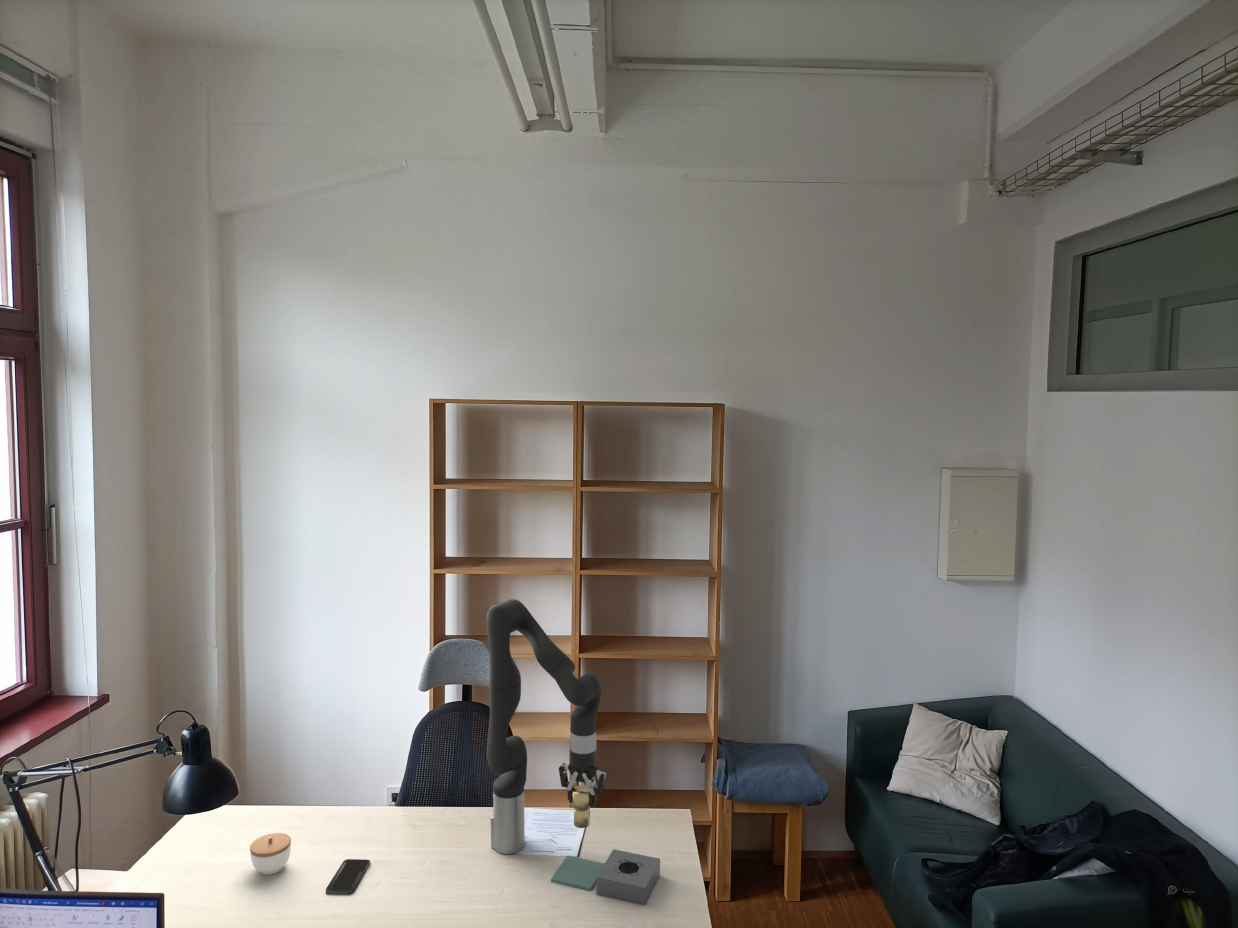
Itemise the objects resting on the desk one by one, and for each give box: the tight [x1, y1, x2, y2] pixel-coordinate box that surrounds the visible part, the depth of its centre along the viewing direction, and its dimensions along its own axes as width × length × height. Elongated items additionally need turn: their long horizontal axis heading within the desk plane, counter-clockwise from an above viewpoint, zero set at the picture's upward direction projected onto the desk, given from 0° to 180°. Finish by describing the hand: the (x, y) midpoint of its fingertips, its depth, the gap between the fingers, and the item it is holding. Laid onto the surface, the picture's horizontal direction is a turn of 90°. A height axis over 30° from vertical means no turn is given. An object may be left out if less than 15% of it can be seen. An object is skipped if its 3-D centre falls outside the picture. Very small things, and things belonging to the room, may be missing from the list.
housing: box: [595, 849, 661, 906], centre depth 220 cm, size 14×14×5 cm
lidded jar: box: [249, 832, 292, 876], centre depth 227 cm, size 11×11×9 cm
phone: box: [325, 858, 371, 896], centre depth 224 cm, size 8×1×15 cm
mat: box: [550, 855, 605, 892], centre depth 226 cm, size 12×12×1 cm
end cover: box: [571, 784, 592, 829], centre depth 224 cm, size 6×6×10 cm
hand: (582, 803), depth 224 cm, fingers closed on end cover, 5 cm apart
